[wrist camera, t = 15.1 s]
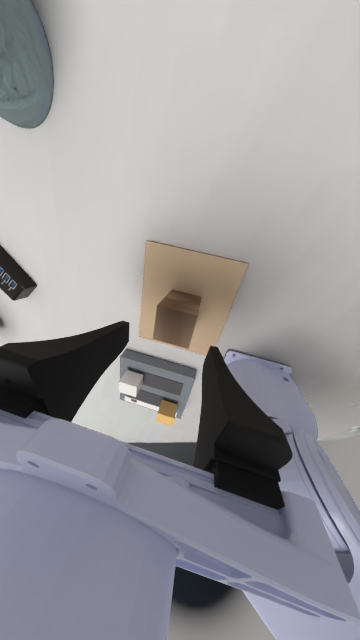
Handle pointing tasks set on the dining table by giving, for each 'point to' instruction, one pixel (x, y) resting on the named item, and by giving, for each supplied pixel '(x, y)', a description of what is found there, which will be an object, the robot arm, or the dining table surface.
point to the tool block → (176, 318)
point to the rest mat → (190, 289)
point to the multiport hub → (14, 278)
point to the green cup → (24, 65)
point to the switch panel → (158, 381)
